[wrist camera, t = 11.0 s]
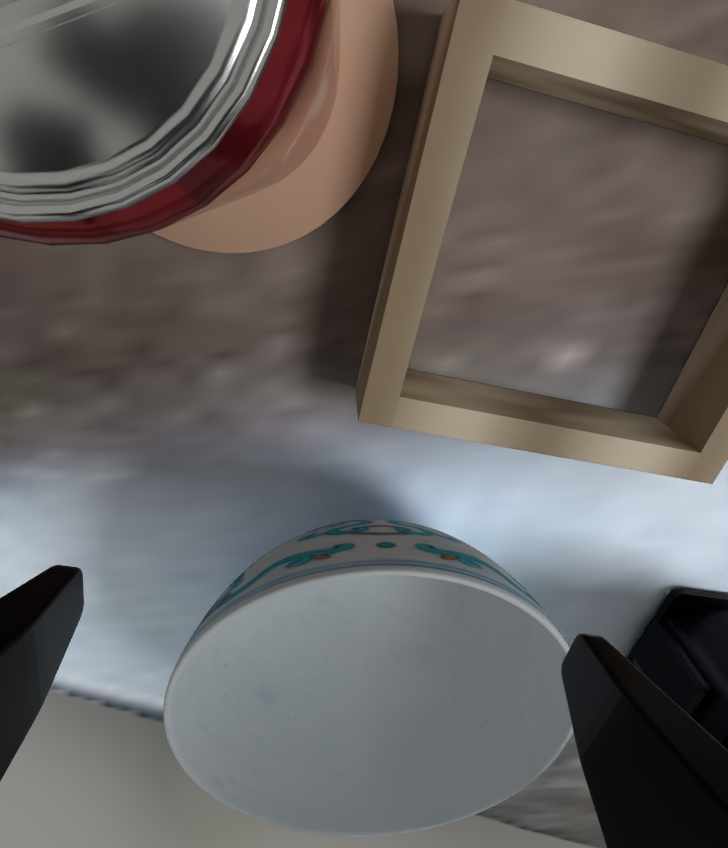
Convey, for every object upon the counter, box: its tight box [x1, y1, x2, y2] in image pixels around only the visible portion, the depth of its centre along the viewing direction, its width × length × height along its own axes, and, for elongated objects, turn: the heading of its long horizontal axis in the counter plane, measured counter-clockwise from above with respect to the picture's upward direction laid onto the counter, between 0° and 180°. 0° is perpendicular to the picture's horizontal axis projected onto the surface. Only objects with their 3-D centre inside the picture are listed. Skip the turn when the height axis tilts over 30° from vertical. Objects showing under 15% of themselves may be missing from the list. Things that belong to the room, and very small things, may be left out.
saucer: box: [152, 0, 399, 253], centre depth 16 cm, size 11×11×1 cm
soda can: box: [0, 0, 340, 246], centre depth 10 cm, size 7×7×12 cm
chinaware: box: [163, 520, 573, 837], centre depth 22 cm, size 15×15×8 cm
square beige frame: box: [356, 0, 728, 484], centre depth 18 cm, size 14×12×3 cm
